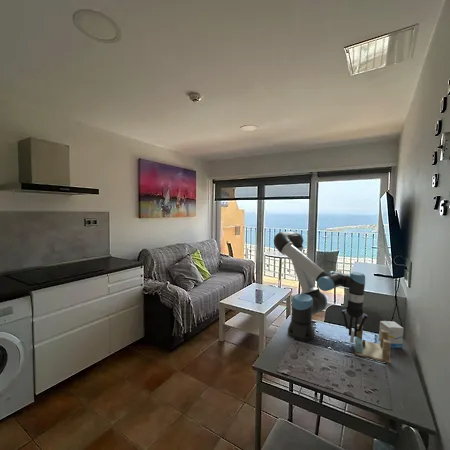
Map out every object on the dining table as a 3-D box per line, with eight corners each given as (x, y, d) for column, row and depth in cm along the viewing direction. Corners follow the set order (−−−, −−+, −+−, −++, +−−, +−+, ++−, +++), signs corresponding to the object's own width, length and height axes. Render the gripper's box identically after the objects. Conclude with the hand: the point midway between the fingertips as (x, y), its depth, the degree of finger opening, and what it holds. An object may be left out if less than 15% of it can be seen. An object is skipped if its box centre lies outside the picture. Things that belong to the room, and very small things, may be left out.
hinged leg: (362, 353, 132) (363, 346, 131) (356, 351, 133) (356, 344, 133) (361, 343, 142) (361, 336, 141) (355, 341, 143) (355, 335, 143)
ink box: (402, 348, 140) (404, 328, 139) (387, 347, 140) (388, 327, 139) (392, 340, 149) (394, 320, 148) (378, 339, 149) (379, 320, 148)
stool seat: (354, 354, 133) (356, 335, 132) (354, 340, 147) (355, 323, 146) (390, 363, 126) (392, 344, 125) (387, 347, 140) (388, 330, 139)
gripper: (342, 300, 139) (338, 341, 141) (369, 305, 133) (365, 348, 135) (342, 296, 146) (339, 335, 148) (368, 300, 140) (364, 341, 142)
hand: (351, 341), depth 142 cm, fingers closed
